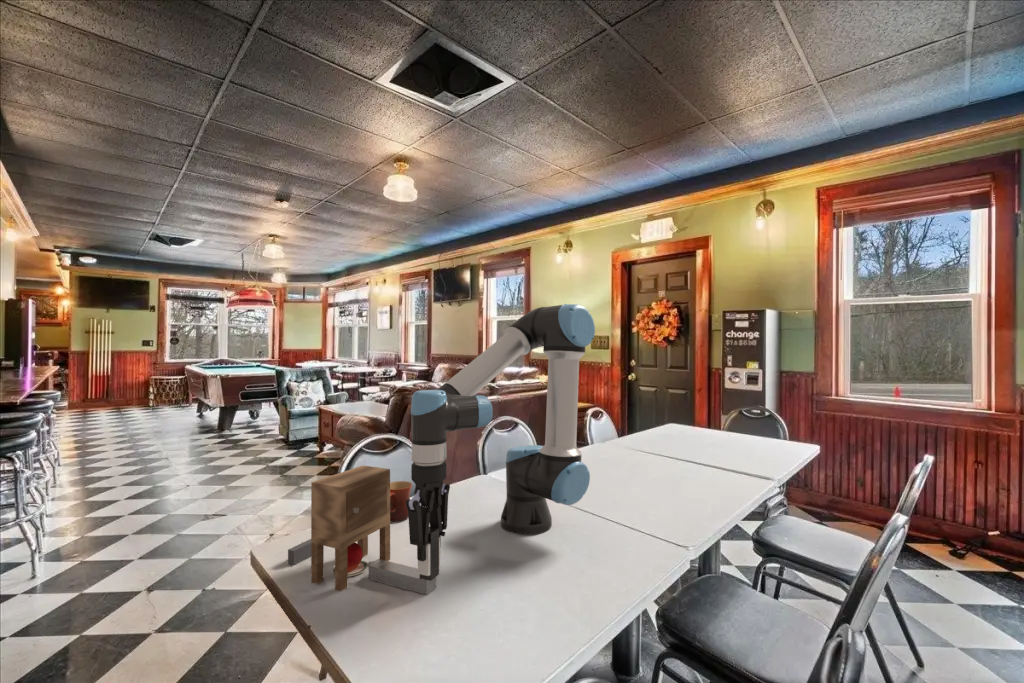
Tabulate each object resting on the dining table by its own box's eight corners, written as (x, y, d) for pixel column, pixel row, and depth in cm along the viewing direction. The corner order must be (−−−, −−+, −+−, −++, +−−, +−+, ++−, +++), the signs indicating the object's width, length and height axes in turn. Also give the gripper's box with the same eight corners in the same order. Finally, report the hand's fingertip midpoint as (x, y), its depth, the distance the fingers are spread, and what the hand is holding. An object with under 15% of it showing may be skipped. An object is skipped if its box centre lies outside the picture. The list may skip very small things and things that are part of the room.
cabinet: (394, 560, 111) (393, 469, 111) (345, 592, 96) (345, 488, 97) (362, 552, 115) (362, 465, 115) (311, 582, 101) (311, 482, 101)
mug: (391, 512, 144) (391, 480, 144) (416, 514, 142) (416, 481, 142) (372, 527, 132) (372, 492, 132) (400, 529, 130) (400, 493, 130)
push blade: (439, 587, 98) (439, 528, 98) (430, 595, 95) (430, 534, 95) (378, 571, 105) (378, 516, 105) (368, 578, 102) (368, 521, 102)
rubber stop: (320, 551, 116) (320, 538, 116) (293, 565, 109) (293, 551, 109) (314, 550, 117) (314, 537, 117) (288, 563, 109) (288, 549, 109)
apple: (347, 582, 101) (347, 553, 101) (325, 573, 105) (325, 545, 105) (375, 567, 108) (375, 540, 108) (353, 559, 112) (353, 533, 112)
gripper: (435, 452, 106) (436, 551, 106) (390, 468, 91) (391, 584, 91) (462, 455, 103) (463, 557, 103) (420, 472, 88) (421, 592, 88)
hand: (429, 569), depth 97 cm, fingers closed on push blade, 3 cm apart
